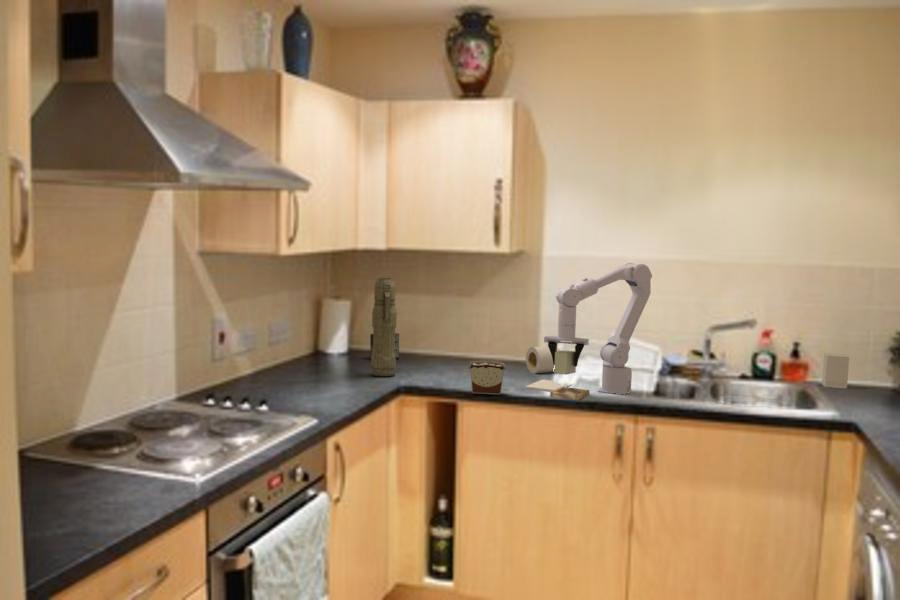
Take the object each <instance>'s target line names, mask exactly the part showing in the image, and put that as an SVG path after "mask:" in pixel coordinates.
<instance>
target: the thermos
mask: <svg viewBox="0 0 900 600" xmlns="http://www.w3.org/2000/svg"><path fill="white" fill-rule="evenodd" d="M373 297H374V299H373V300H374V303H373V305H374V307H373V309H372V314H371V317H372V318H371V324H372V325H371V326H372V328H373V333H372V334H373V353H372V356H371V359H370V361H371V363H370V367H371V375H372V376H375V377H392V376H395V375H396V365H397V363H396V361H397V359H396V356H395V353H394V349H395V333H396V328H397V314H398V313H397V309H396V303H395V301H396V284H395V280H394V279H392V278H391V277H379V278H377V279H376V280H375V285H374V295H373Z"/></svg>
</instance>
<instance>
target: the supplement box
mask: <svg viewBox="0 0 900 600" xmlns="http://www.w3.org/2000/svg"><path fill="white" fill-rule="evenodd" d="M849 364H850V356H848V355H847V354H844V353H829V352H825V353H823V367H822V379H821V380H822V381H821V384H822V386H823V387H824V388H834V389H835V388H836V389H847V388H848V378H849Z"/></svg>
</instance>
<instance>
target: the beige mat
mask: <svg viewBox="0 0 900 600" xmlns="http://www.w3.org/2000/svg"><path fill="white" fill-rule="evenodd" d="M554 381H555V380H549V379H540V380H537V381H535V382H533V383H530V384H528V385H526V386H525V390H533V391H539V392H548V393H550V392H552V391H554V390H556V389H558V388H560V387H565V386H562V385H557V384H556V383H555V382H554Z"/></svg>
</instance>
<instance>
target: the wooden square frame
mask: <svg viewBox="0 0 900 600" xmlns="http://www.w3.org/2000/svg"><path fill="white" fill-rule="evenodd" d="M549 393H550V397H552V398H558V399H567V400H571V401H572V400H573V401H580V400H581V399H583V398H584V397H586V396H588V395H590V389H585V388H577V387H571V386H568V387H560V388H558V389H556V390H554V391H552V392H549ZM572 393H573V394H572Z"/></svg>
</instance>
